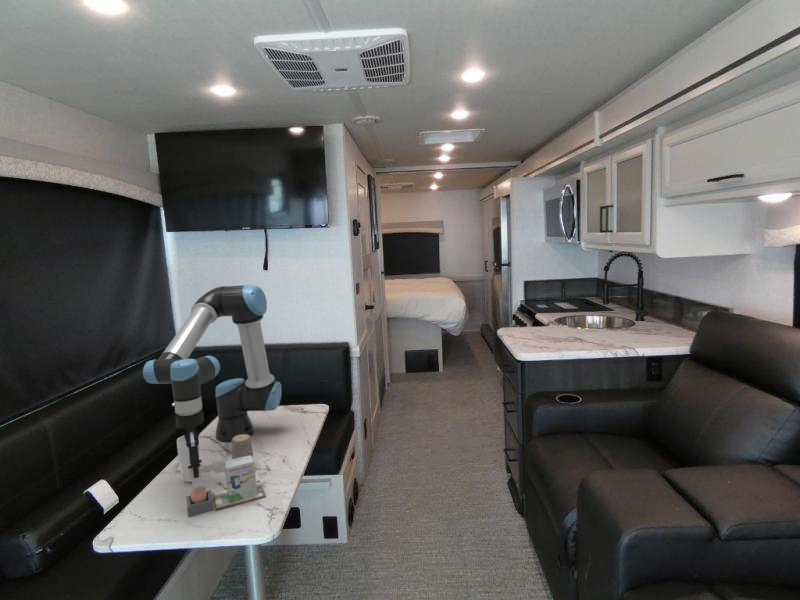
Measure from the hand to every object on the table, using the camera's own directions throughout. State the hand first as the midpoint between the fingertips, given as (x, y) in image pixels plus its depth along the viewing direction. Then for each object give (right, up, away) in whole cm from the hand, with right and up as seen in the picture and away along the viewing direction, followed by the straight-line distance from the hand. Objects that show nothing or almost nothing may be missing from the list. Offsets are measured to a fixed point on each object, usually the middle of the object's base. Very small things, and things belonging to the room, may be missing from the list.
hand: (197, 485), depth 143 cm
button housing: (0, -7, +1) cm, 7 cm away
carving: (+6, -4, +25) cm, 26 cm away
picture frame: (+10, -6, +7) cm, 14 cm away
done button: (0, -6, +1) cm, 6 cm away
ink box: (+12, -6, +5) cm, 14 cm away
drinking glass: (-10, -6, +19) cm, 22 cm away
